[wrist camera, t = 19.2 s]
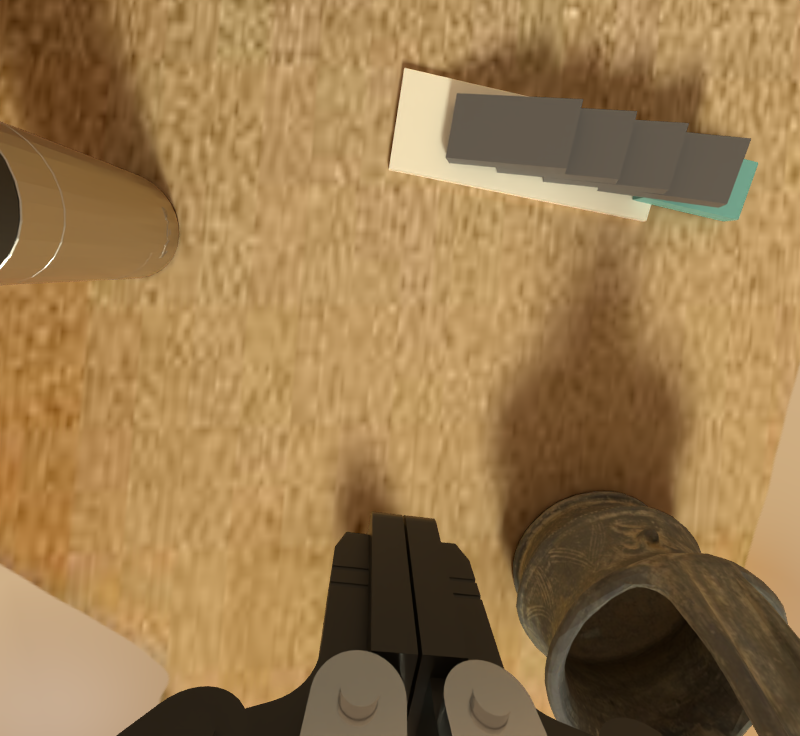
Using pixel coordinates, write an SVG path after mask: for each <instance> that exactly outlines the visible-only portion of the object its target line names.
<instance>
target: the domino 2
mask: <svg viewBox="0 0 800 736" xmlns="http://www.w3.org/2000/svg"><path fill="white" fill-rule="evenodd" d="M636 115H637V111H625V110H606V109H588V108H581V111H580V115H579V119H578V124H577V128H576V132H575V136H574V140H573V144H572V149H571V153H570V157H569V161H568V165H567V169H566V172H565V174H559V173H548V172H538V171H527V170H516V169H506V168H496V171H497V173H506V174H516V175H526V176H536V177H547V178H557V179H567V180H577V181H588V182H598V183H608V184H616V183H617V181H618V180H619V178H620V174H621V170H622V167H623V163H624V159H625V156H626V152H627V148H628V144H629V141H630V137H631V133H632V129H633V126H634V122H635V118H636Z"/></svg>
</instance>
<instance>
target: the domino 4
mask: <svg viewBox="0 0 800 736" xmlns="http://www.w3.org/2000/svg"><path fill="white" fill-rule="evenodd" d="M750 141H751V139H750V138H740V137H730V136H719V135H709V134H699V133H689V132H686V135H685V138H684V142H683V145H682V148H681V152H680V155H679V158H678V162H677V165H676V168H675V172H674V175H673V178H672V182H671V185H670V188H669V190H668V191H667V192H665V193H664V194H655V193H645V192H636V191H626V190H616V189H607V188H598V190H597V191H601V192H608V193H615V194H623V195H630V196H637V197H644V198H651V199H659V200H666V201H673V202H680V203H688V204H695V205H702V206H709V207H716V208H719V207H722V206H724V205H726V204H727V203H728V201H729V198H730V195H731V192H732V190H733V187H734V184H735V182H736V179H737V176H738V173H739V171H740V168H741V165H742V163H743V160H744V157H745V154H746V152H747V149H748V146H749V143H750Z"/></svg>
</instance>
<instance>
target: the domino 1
mask: <svg viewBox="0 0 800 736" xmlns="http://www.w3.org/2000/svg"><path fill="white" fill-rule="evenodd" d="M582 103H583V99H568V98H548V97H527V96H506V95H486V94H465V93H457V95H456V101H455V107H454V113H453V118H452V124H451V130H450V135H449V141H448V147H447V153H446V159H447V161H448V162H449V163H453V164H463V165H474V166H484V167H495V168H506V169H516V170H527V171H538V172H548V173H559V174H565V172H566V169H567V165H568V161H569V157H570V153H571V149H572V144H573V140H574V136H575V132H576V128H577V124H578V119H579V115H580V111H581V107H582Z"/></svg>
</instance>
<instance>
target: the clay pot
mask: <svg viewBox="0 0 800 736" xmlns="http://www.w3.org/2000/svg"><path fill="white" fill-rule="evenodd" d="M513 576H514V585H515V589H516V592H517V594H518V595H517V604H516V607H517V612H518V616H519V620H520V622H521V624H522V626H523V628H524V630H525V632H526V634H527V635H528V637H529V638H530V639H531V641H532V642H533V644H534V645H535V646H536V647H537V648H538V649H539V650H540V651H541V652H542V653H543V654H544V655H545V656H546V657H547V660H546V666H545V686H546V691H547V696H548V700H549V703H550V707H551V709H552V712H553V714H554V716H555V718H556V720H557V721H559V722H562V723H564V724H567V725H569V726H571V727H574V728H576V729H579V730H581V731H584V732H586V733H588V734H591V735H593V736H598V734H599V732H600V729H601V727H602V726H603V725H604V723H605V722H607V721H608V720H610V719H613V718H617V717H621V718H630V719H634V720H637V721H639V722H642V723H644V724H646V725H648V726H650V727H652V728H653V729H655V730H656V731H658V732H660V733H661V734H662V735H663V736H743V735H744V734H745V733H746V732H747V730H748V729H749V728H750V727H751V726H752V725H753V727H754V728H755V730H756V732H757V734H758V735H759V736H800V639H799V638H798V637H797V635H796V634H795V633H794V632H793V630H792V629H791V628H790V627H789V625H788V623H787V617H786V613H785V610H784V607H783V605H782V604H781V602H780V601H779V599H778V597H777V596H776V595H775V593H774V592H773V591H772V590H771V589H770V588H769V587H768V586H767V585H766V584H765V583H764V582H763V581H762V580H760V579H759V578H757V577H756V576H755V575H753V574H752V573H751V572H749V571H748V570H746V569H744V568H743V567H741V566H739V565H738V564H736V563H734V562H732V561H729V560H727V559H723V558H720V557H716V556H713V555H710V554H701V551H700V549H699V546H698V543H697V542H696V540H695V539H694V537H693V536H692V535H691V533H690V532H689V531H688V530H687V528H686V527H684V526H683V525H682V524H681V523H679V522H678V521H677V520H676V519H675V518H673V517H672V516H670V515H668V514H666V513H664V512H661V511H659V510H657V509H655V508H650V507H648V506H646V505H645V504H644V503H643V502H641V501H639V500H637V499H636V498H633V497H631V496H628V495H626V494H623V493H618V492H611V491H595V492H590V493H585V494H580V495H575V496H572V497H570V498H567V499H565V500H562V501H560V502H558V503H556V504H554V505H553V506H551V507H550V508H548V509H547V510H546V511H544V512H543V513H542V514H541V515H540V516H539V517H538V518H537V519H536V520H535V521H534V522H533V523H532V524H531V525H530V526H529V527H528V529H527V530H526V531H525V533H524V535H523V537H522V538H521V540H520V542H519V545H518V547H517V549H516V552H515V556H514V561H513Z"/></svg>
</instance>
